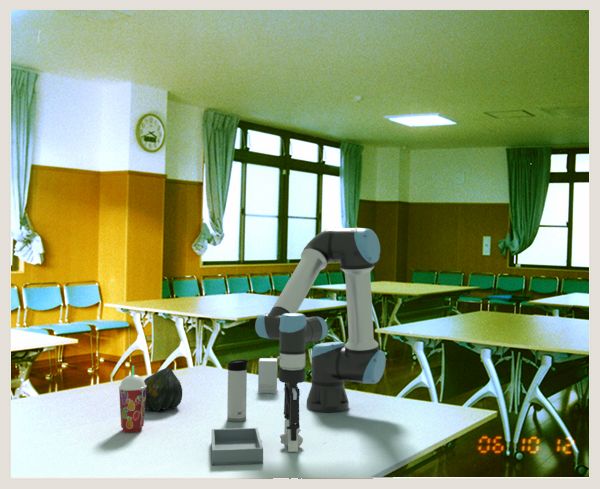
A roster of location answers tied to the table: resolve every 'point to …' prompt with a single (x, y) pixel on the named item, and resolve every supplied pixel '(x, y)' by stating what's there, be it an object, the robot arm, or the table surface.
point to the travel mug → (237, 390)
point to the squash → (162, 390)
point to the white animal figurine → (285, 438)
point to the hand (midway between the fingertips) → (290, 446)
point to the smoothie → (132, 403)
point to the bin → (236, 446)
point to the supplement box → (267, 375)
